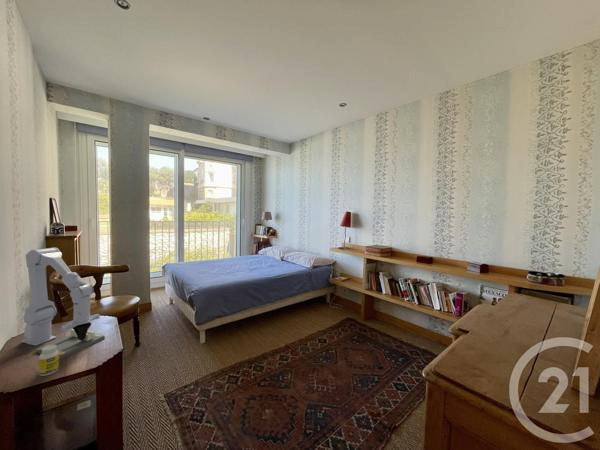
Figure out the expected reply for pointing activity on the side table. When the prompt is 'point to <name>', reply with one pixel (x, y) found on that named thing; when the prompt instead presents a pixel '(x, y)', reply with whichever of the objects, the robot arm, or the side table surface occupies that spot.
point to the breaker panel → (72, 345)
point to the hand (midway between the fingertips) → (81, 339)
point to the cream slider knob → (73, 333)
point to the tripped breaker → (89, 335)
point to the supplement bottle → (48, 360)
